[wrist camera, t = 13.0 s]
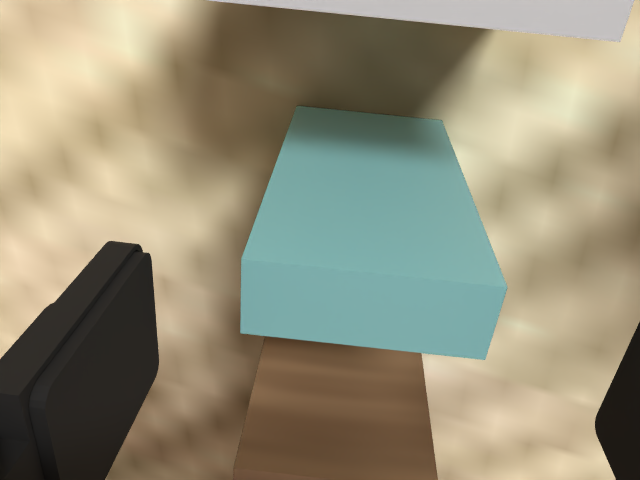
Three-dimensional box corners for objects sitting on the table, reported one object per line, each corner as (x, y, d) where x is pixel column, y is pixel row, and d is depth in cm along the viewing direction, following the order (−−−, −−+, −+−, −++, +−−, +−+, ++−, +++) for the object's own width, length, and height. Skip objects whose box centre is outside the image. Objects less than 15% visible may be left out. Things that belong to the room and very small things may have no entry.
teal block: (432, 169, 20) (484, 360, 11) (293, 154, 20) (240, 333, 11) (441, 120, 19) (507, 287, 10) (296, 105, 19) (241, 259, 10)
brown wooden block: (285, 254, 22) (233, 468, 13) (409, 267, 22) (439, 491, 13) (282, 290, 23) (233, 513, 14) (402, 303, 23) (425, 535, 14)
